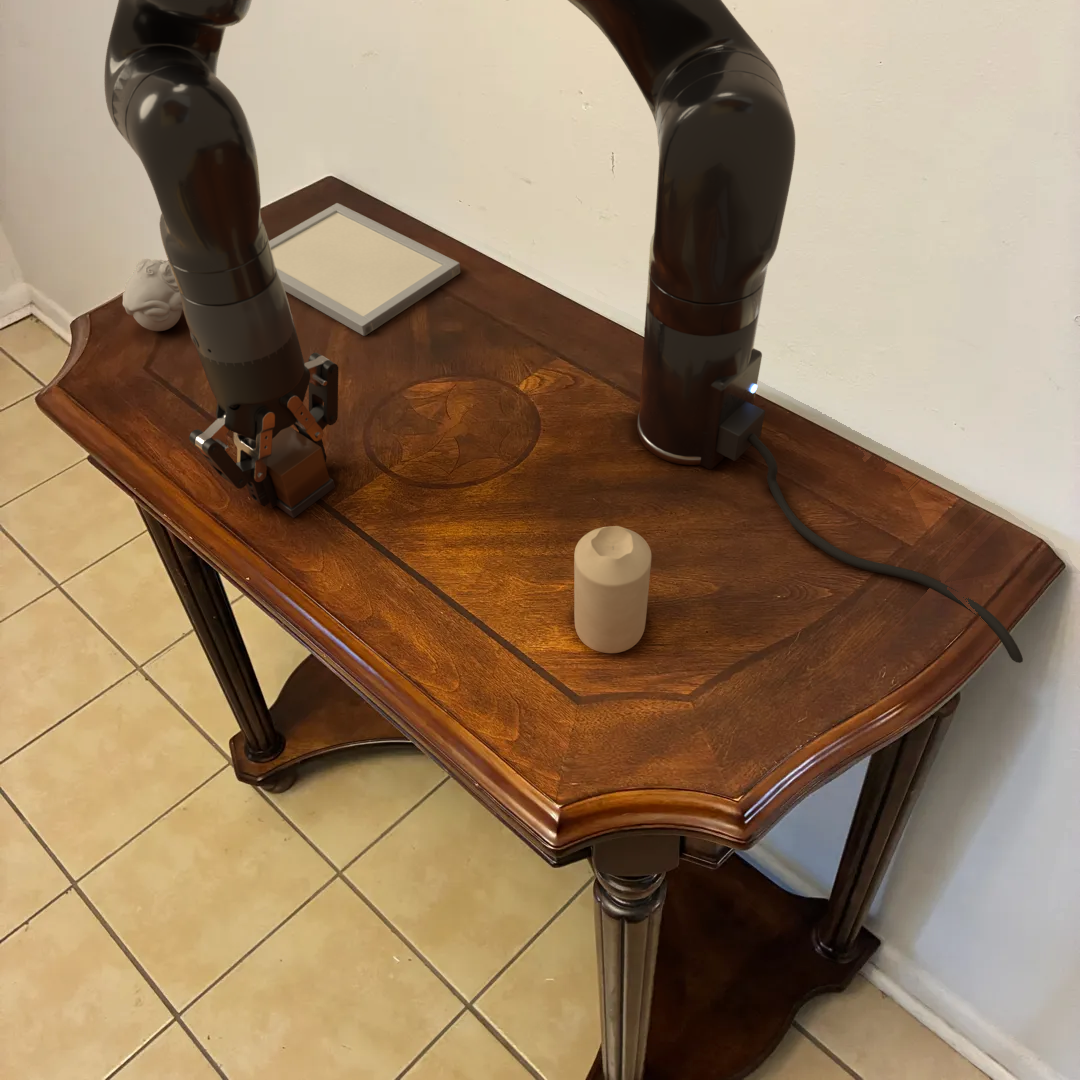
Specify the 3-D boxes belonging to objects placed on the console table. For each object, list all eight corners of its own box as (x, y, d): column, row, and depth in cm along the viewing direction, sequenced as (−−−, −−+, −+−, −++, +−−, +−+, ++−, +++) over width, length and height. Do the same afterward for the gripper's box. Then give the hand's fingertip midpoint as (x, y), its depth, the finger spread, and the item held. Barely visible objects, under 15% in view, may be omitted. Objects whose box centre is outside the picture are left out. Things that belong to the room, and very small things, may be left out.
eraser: (335, 487, 88) (324, 446, 84) (293, 518, 85) (280, 478, 82) (291, 457, 90) (279, 416, 87) (250, 487, 88) (235, 446, 84)
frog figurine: (209, 312, 105) (189, 255, 100) (168, 350, 101) (145, 293, 96) (163, 299, 107) (141, 243, 102) (120, 337, 103) (96, 280, 98)
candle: (646, 654, 75) (654, 571, 68) (574, 654, 75) (574, 572, 68) (643, 597, 79) (650, 512, 71) (574, 597, 79) (574, 512, 71)
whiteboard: (460, 272, 109) (459, 262, 108) (364, 336, 102) (362, 326, 101) (339, 212, 118) (337, 202, 117) (242, 267, 111) (239, 257, 110)
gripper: (195, 397, 70) (255, 553, 83) (347, 302, 77) (380, 459, 90) (134, 355, 73) (200, 511, 86) (284, 267, 80) (325, 424, 93)
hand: (291, 484), depth 88 cm, fingers closed on eraser, 4 cm apart
